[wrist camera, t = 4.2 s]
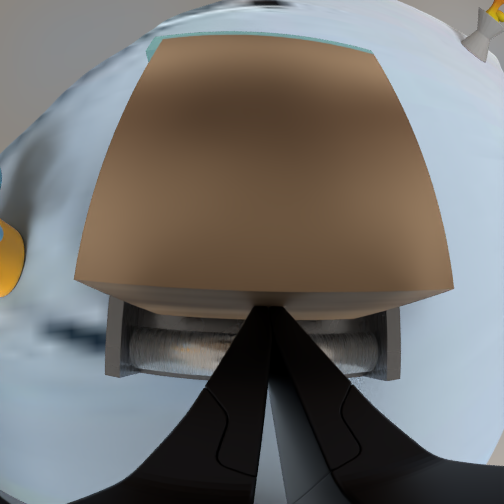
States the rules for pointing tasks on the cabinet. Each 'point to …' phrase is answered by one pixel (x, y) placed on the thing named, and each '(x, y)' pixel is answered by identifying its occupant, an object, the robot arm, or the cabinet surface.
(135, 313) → the roller bed
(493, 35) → the lava lamp
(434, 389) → the cabinet surface
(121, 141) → the brown wooden block
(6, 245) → the orange post with rings
